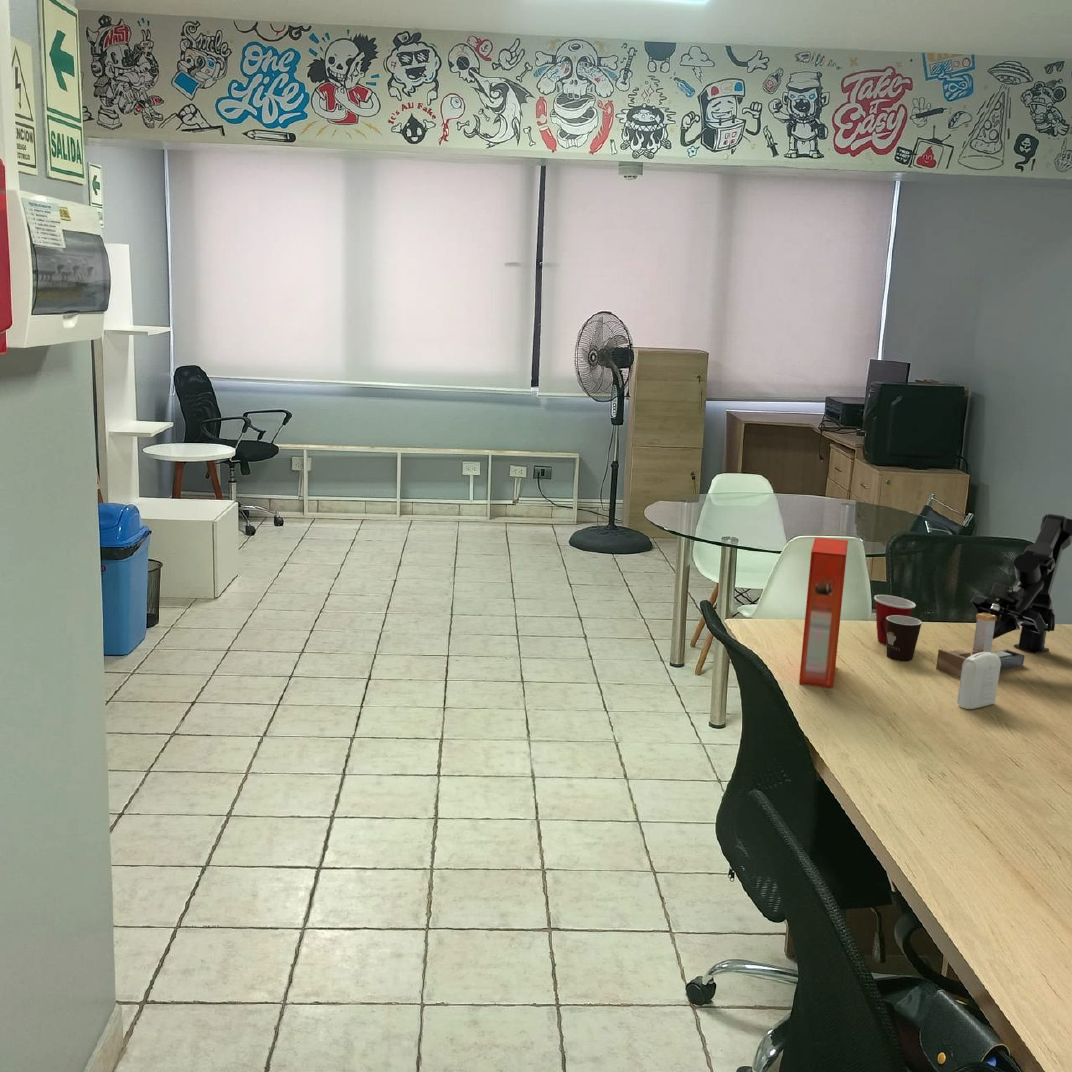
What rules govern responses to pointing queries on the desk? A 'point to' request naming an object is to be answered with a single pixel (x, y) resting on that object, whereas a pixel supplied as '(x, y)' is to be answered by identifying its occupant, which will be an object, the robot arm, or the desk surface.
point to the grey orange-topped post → (985, 635)
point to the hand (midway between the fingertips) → (988, 639)
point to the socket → (951, 661)
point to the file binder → (823, 612)
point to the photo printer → (979, 680)
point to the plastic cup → (890, 611)
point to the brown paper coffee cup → (901, 636)
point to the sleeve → (1011, 660)
